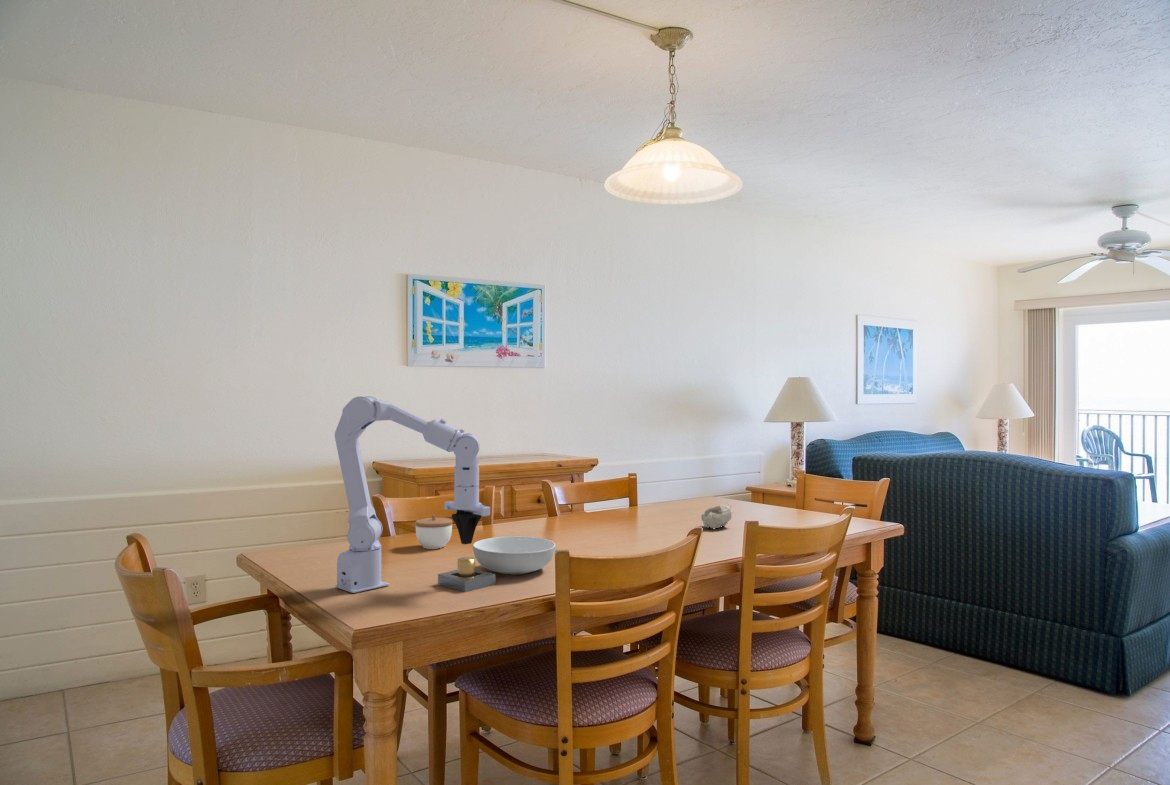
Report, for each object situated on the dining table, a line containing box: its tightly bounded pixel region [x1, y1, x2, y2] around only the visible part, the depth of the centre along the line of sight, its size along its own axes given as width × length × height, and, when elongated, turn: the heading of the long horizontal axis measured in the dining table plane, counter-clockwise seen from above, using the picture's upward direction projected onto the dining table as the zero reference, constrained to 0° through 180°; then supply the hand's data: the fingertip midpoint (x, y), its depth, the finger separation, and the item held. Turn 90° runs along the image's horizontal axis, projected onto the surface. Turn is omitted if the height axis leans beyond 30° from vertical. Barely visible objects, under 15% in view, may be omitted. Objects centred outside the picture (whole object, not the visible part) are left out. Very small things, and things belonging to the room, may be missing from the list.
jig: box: [437, 568, 496, 593], centre depth 176 cm, size 9×10×2 cm
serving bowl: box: [472, 535, 557, 576], centre depth 189 cm, size 21×21×7 cm
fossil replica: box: [700, 503, 733, 529], centre depth 251 cm, size 12×8×10 cm
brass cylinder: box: [457, 556, 476, 578], centre depth 175 cm, size 4×4×6 cm
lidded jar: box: [414, 514, 454, 550], centre depth 219 cm, size 11×11×9 cm
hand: (466, 543), depth 176 cm, fingers closed
